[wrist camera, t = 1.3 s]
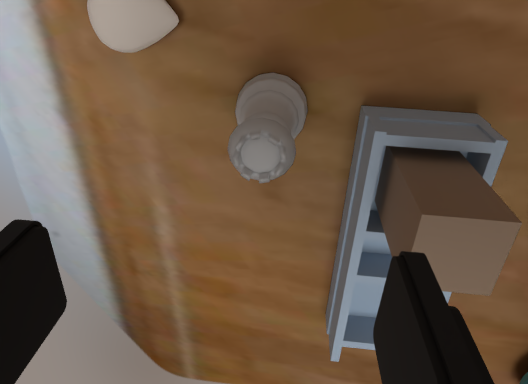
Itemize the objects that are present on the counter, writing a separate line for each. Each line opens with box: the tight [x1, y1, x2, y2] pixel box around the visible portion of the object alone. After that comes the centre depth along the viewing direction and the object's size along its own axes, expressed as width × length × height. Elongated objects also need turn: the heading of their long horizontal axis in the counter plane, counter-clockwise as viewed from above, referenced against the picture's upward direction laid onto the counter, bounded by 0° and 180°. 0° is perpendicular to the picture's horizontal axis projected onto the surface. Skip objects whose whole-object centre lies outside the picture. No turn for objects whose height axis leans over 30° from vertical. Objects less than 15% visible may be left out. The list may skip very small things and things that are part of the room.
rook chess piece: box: [228, 73, 308, 183], centre depth 21 cm, size 4×4×8 cm
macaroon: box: [87, 0, 179, 52], centre depth 22 cm, size 4×5×2 cm
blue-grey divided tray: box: [326, 106, 522, 362], centre depth 24 cm, size 7×18×10 cm, turn 178°
